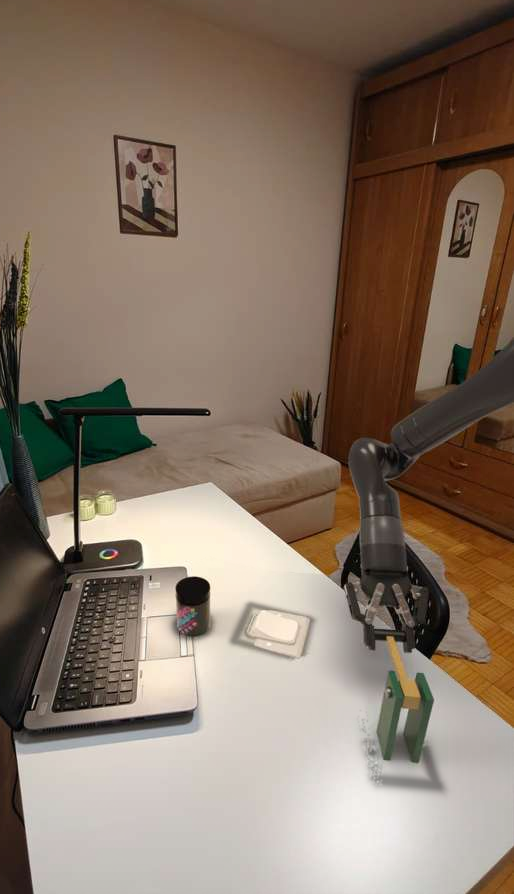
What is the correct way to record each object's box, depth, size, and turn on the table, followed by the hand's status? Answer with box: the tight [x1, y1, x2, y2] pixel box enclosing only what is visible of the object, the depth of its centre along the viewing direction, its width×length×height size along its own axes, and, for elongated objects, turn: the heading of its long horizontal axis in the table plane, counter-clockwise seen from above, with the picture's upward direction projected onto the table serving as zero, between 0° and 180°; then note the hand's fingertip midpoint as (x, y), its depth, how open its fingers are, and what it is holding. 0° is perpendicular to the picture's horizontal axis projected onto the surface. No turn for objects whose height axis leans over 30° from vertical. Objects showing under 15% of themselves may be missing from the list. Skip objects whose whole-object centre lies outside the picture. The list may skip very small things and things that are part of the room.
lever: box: [374, 627, 421, 710], centre depth 66 cm, size 13×5×2 cm, turn 176°
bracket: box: [376, 670, 435, 764], centre depth 63 cm, size 10×8×14 cm
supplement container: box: [175, 575, 211, 638], centre depth 87 cm, size 7×7×10 cm
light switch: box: [246, 609, 311, 659], centre depth 87 cm, size 11×4×13 cm
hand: (389, 650), depth 71 cm, fingers closed on lever, 5 cm apart
